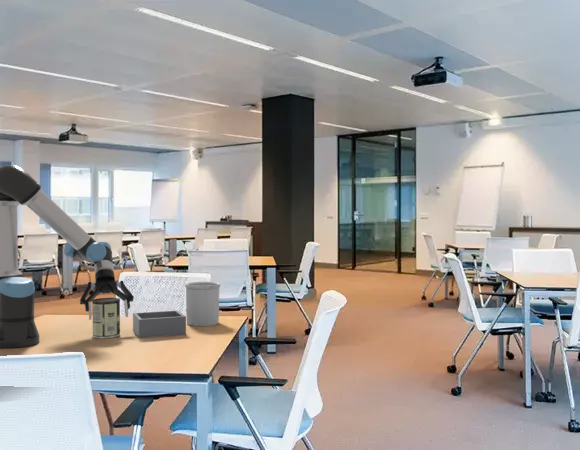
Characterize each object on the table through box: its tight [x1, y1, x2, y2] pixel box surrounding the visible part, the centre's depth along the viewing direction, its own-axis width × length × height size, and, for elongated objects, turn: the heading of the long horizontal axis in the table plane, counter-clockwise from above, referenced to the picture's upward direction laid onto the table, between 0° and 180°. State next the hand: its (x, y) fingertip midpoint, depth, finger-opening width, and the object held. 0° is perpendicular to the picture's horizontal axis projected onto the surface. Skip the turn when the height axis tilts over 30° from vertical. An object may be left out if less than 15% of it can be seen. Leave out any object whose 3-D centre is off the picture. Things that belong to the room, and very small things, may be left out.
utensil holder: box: [185, 280, 221, 327], centre depth 240 cm, size 15×15×18 cm
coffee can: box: [91, 297, 121, 339], centre depth 213 cm, size 10×10×14 cm
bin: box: [132, 310, 187, 339], centre depth 220 cm, size 18×16×7 cm
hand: (108, 316), depth 214 cm, fingers open, 13 cm apart
